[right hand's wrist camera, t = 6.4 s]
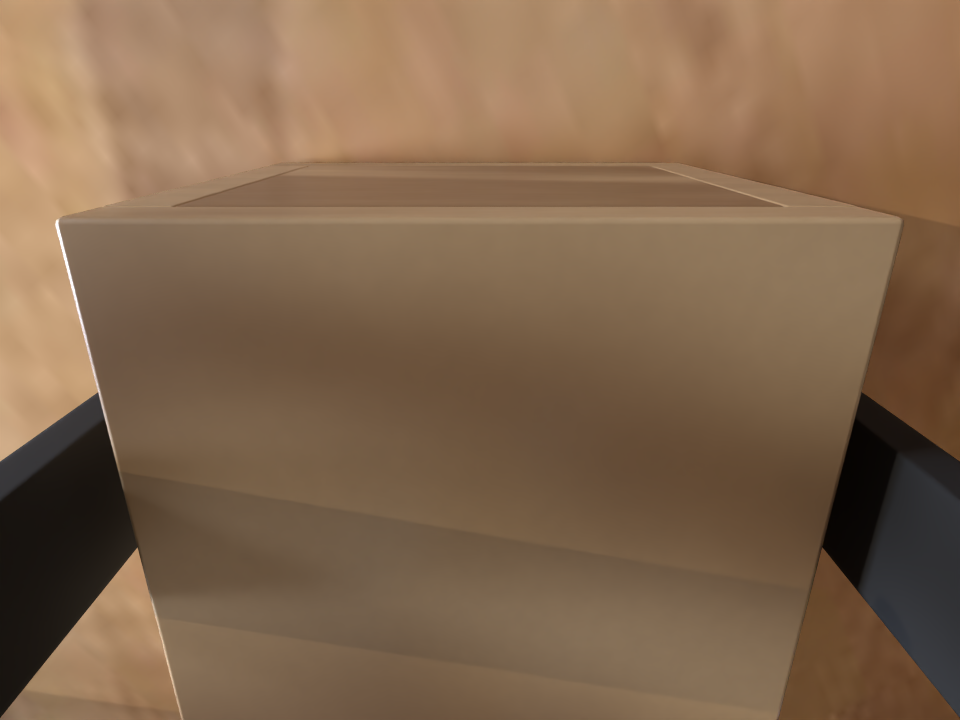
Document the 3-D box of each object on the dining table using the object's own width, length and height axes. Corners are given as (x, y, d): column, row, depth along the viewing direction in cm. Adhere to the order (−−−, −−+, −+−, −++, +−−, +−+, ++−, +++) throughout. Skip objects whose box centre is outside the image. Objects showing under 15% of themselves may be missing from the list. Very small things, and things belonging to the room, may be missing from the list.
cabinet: (616, 712, 25) (694, 1055, 16) (343, 712, 25) (265, 1055, 16) (679, 162, 17) (909, 217, 8) (279, 162, 17) (50, 217, 8)
